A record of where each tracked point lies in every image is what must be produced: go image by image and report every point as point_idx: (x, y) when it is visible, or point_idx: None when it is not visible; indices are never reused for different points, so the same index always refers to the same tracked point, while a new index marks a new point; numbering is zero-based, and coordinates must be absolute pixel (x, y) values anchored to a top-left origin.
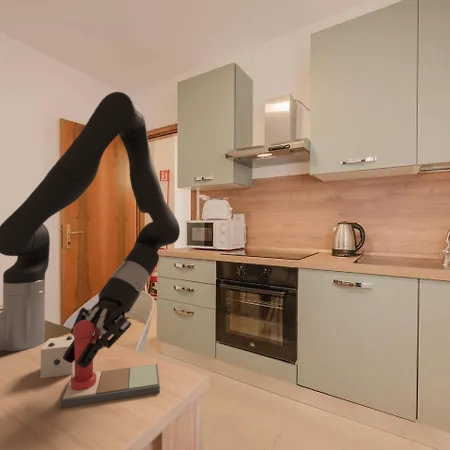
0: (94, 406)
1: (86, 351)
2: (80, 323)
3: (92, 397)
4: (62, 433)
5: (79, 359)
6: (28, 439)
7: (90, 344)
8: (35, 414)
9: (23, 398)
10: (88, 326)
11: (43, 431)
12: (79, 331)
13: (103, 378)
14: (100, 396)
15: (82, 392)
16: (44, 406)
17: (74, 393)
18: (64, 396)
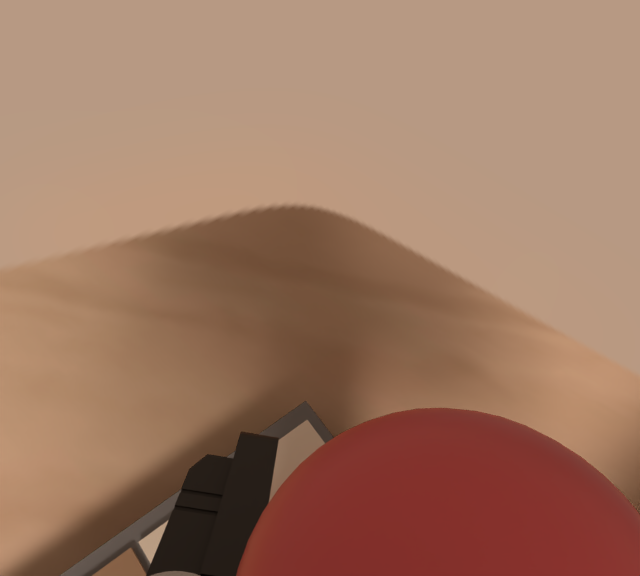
0: (126, 509)
1: (220, 506)
2: (483, 482)
3: (145, 515)
4: (142, 295)
5: (256, 444)
6: (254, 235)
7: (207, 571)
8: (382, 347)
9: (577, 419)
10: (273, 573)
11: (236, 281)
12: (366, 422)
13: None
14: (99, 549)
15: None
16: (404, 407)
17: (279, 483)
18: (312, 435)
